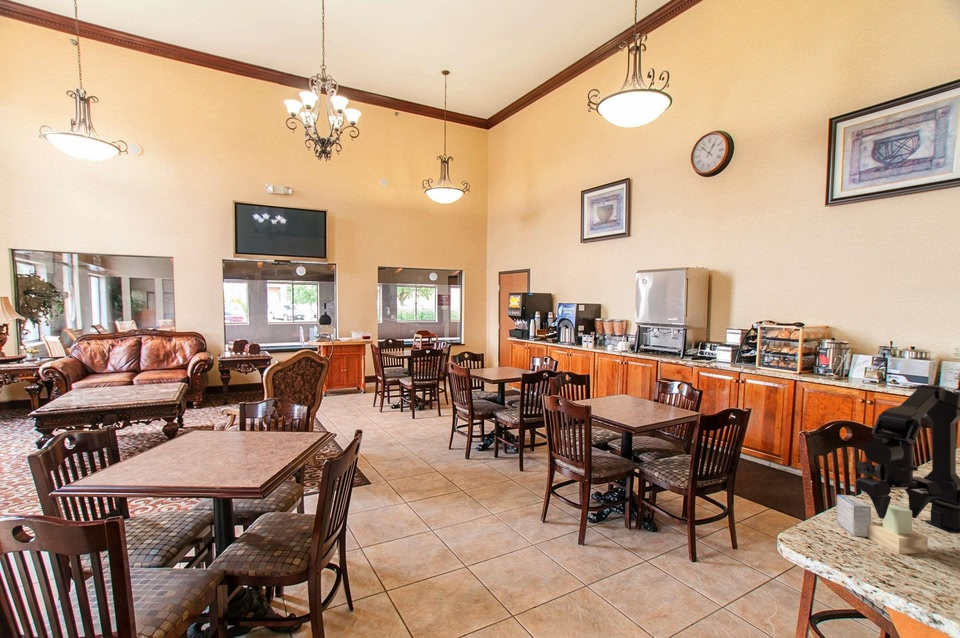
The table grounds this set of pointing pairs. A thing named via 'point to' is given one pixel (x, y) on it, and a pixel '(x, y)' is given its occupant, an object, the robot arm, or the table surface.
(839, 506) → the medicine box
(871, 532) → the beech slab
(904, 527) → the sage block
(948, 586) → the table surface
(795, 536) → the table surface
